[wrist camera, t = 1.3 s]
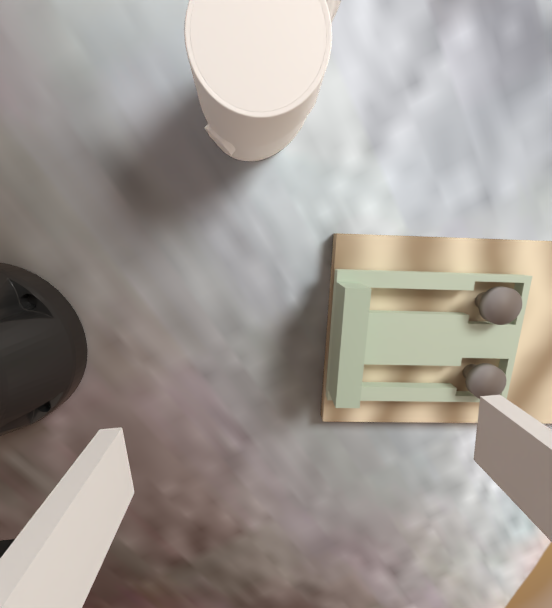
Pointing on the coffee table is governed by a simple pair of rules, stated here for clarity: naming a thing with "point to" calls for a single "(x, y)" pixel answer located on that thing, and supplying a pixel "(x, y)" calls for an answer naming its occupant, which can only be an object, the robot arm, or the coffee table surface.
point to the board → (477, 304)
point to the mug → (257, 68)
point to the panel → (411, 336)
